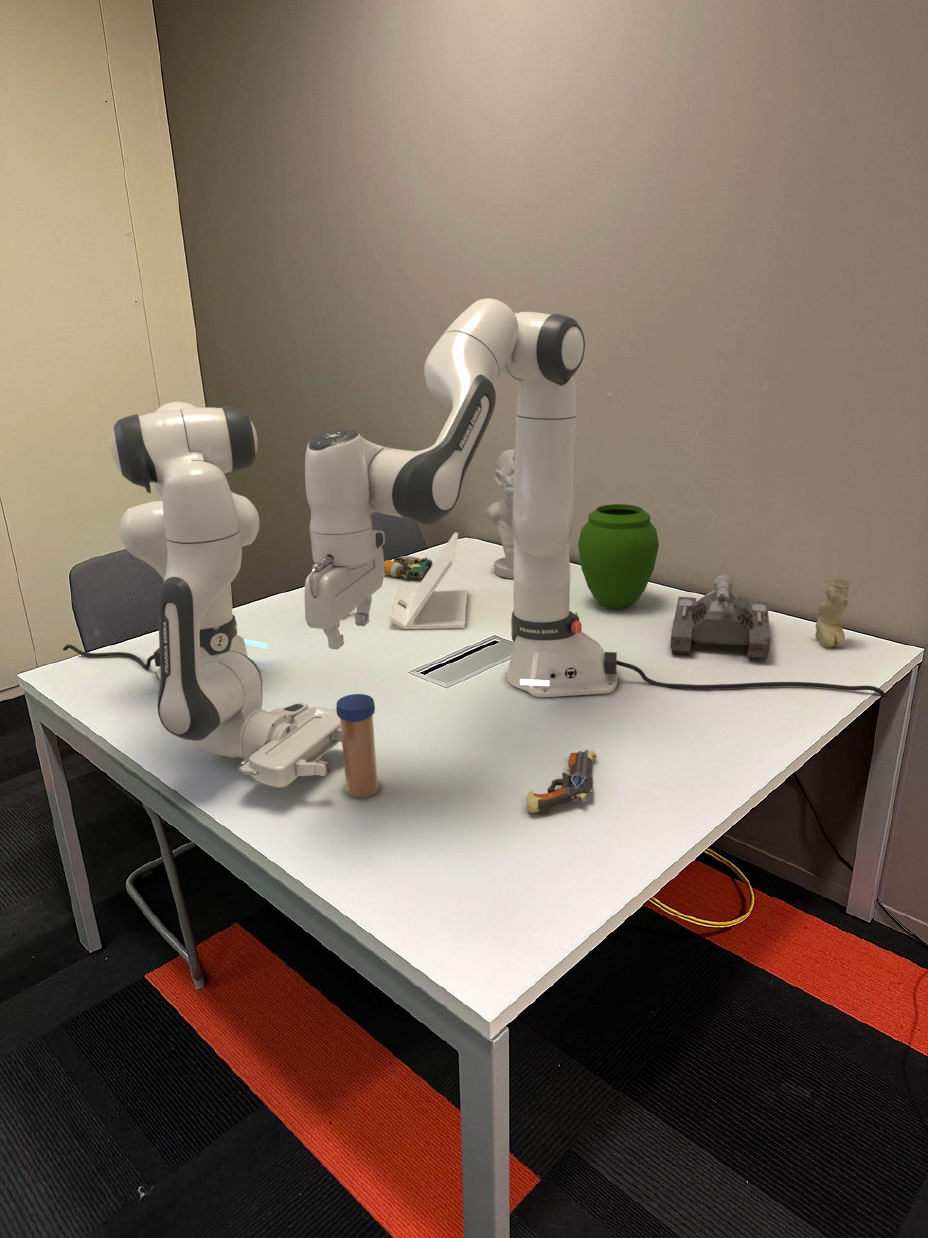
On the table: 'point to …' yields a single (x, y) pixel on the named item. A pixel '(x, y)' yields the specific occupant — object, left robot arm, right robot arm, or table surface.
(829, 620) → the sculpture
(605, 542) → the vase
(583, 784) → the toy gun
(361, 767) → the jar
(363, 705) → the lid
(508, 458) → the bust sculpture
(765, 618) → the toy
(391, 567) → the spray gun
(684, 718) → the table surface
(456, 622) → the tablet stand
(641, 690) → the table surface
